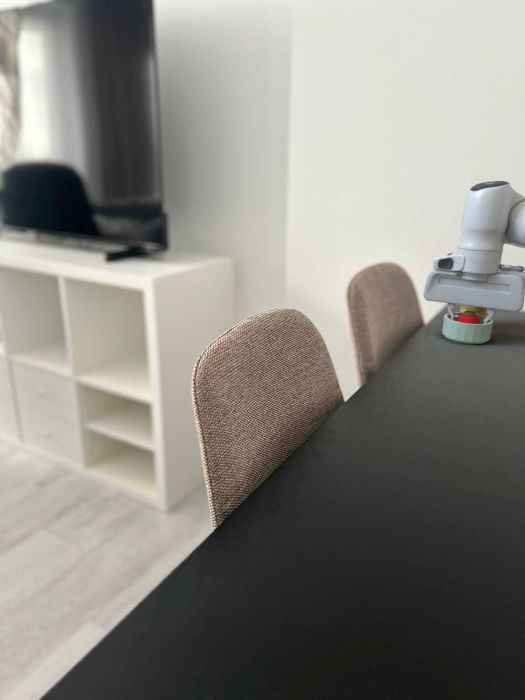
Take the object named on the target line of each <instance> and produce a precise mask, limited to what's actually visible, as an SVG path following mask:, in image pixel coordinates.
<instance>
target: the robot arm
mask: <svg viewBox="0 0 525 700" xmlns="http://www.w3.org/2000/svg"><path fill="white" fill-rule="evenodd" d="M460 232H461V234H460V238H459V241H458V244H457V248H456V251H455V252H450V253H446V254H441V255H438V256H436V257H434V259H433V261H432V268H433V269H432V270H430V271H429V273H427V276H426V279H425V283H424V287H423V294H422V296H423V298H424V299H425V301H427V302H428V301H429V302H437V303H442V304H443V303H444V304H447V305H446V309H447V311H448V313H450V315H451V320H454V321H457V320H458V318H459V315H456V314H455V307H456V305H459V306H461V305H466V306H474V307H481V308H487V313H488V315H487V316H486V318H485V319H483V318H481V319H480V321H479V324H486V323H487V321H488V320H489V319H490V318H491V319H492V317H493V315H494V314H495V313H496V310H497V311H504V312H506V311H507V312H511V313H512V312H513V313H518V312H520V311H522V310H523V308H524V305H525V267H524V266H522V265H510V264H502V257H503V251H504V245H510V246H514V247H517V248H521V249H525V196H524V195H523V194H521V193H519V192H517V191H516V189H514V188H513V187H512V186H511V183H510V182H508V181H505V180H494V181H493V180H492V181H485V182H480V183H477V184H475V185H473V186H471V187H470V189H469V190H468V192H467V194H466V197H465V200H464V204H463V209H462V214H461V221H460Z"/></svg>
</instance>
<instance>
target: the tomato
mask: <svg viewBox="0 0 525 700" xmlns="http://www.w3.org/2000/svg"><path fill="white" fill-rule="evenodd" d="M479 321H480V319H479V317H478V316H477V315H476V312H474V311H464V313H463V314H461V315H460V316H459V318H458V320H457V322H462V323H469V324H479Z"/></svg>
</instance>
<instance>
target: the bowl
mask: <svg viewBox="0 0 525 700" xmlns="http://www.w3.org/2000/svg"><path fill="white" fill-rule="evenodd" d="M463 313H464V312H460V311H458V312H457V311H456V312H455V314H456V315H459V316H460V315H461V314H463ZM476 315H477V316H478V317H479V319H481V318H483V319H485V318H486V316H483V315H479V314H476ZM493 327H494V320H493V318H492V317H491V318H490V319H489V320H488V321H487V323H486V324H469V323H462V322H457V321H454V320H451V315H450V313H449V312H447V313H446V314H444V315H443V322H442V327H441V334H442V335H443V336H444V337H445V338H446V339H448V340H449V341H452V342H456V343H460V344H467V345H480V344H484V343H487V342H488V341H490V340H491V338H492V332H493Z"/></svg>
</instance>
